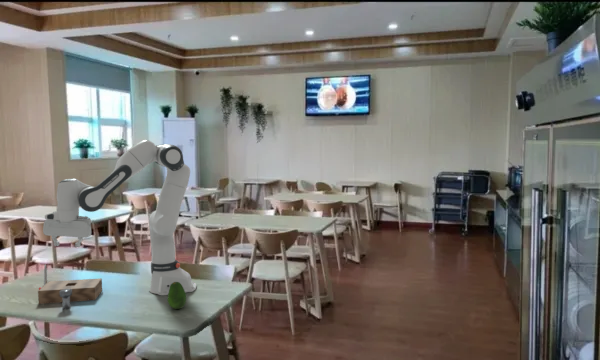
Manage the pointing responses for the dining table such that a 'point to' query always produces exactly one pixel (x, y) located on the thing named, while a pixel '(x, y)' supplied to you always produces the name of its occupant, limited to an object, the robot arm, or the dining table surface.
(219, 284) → the dining table surface
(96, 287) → the hitch block
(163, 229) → the robot arm
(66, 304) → the steel pin
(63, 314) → the dining table surface
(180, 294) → the avocado
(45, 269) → the tow hook
